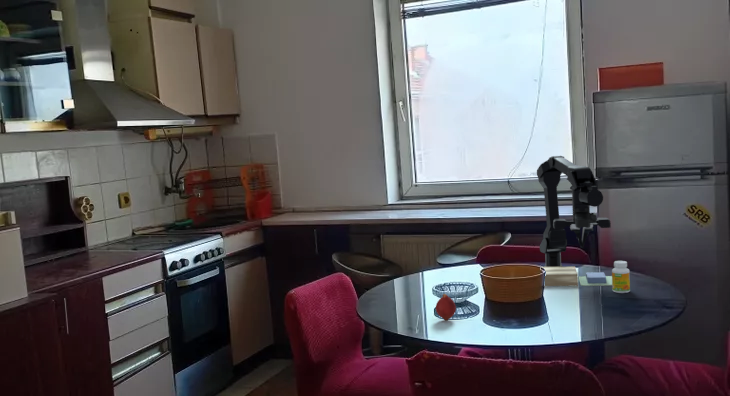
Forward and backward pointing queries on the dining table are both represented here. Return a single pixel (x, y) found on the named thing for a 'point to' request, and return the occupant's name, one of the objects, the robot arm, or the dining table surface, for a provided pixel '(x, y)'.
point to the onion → (445, 307)
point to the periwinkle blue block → (595, 277)
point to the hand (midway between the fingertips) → (582, 247)
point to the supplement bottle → (620, 277)
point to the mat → (584, 283)
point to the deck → (561, 276)
